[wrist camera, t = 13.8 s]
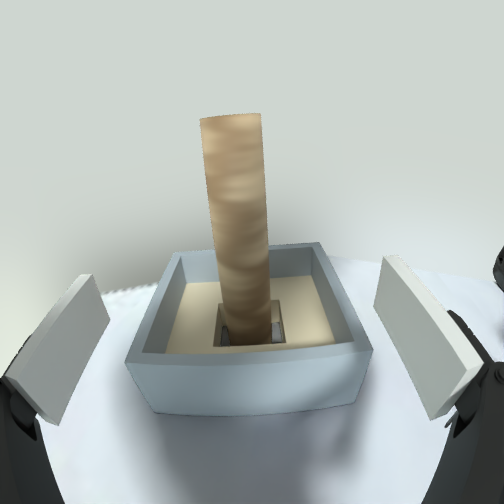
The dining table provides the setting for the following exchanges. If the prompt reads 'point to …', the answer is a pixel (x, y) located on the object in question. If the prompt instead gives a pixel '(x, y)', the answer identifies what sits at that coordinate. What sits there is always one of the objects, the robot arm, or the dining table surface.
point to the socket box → (254, 356)
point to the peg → (239, 223)
